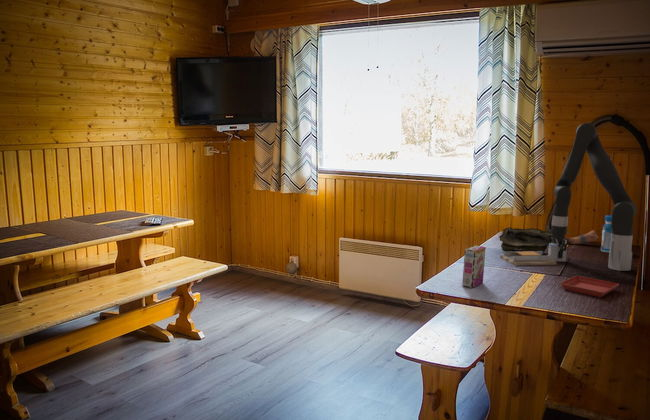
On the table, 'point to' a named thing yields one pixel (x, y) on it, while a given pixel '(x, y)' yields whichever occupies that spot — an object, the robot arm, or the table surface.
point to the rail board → (528, 262)
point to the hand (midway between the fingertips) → (556, 256)
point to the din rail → (517, 257)
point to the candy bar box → (473, 266)
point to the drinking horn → (581, 238)
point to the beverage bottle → (606, 234)
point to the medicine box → (556, 252)
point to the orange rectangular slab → (528, 253)
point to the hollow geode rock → (525, 239)
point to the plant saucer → (589, 286)
